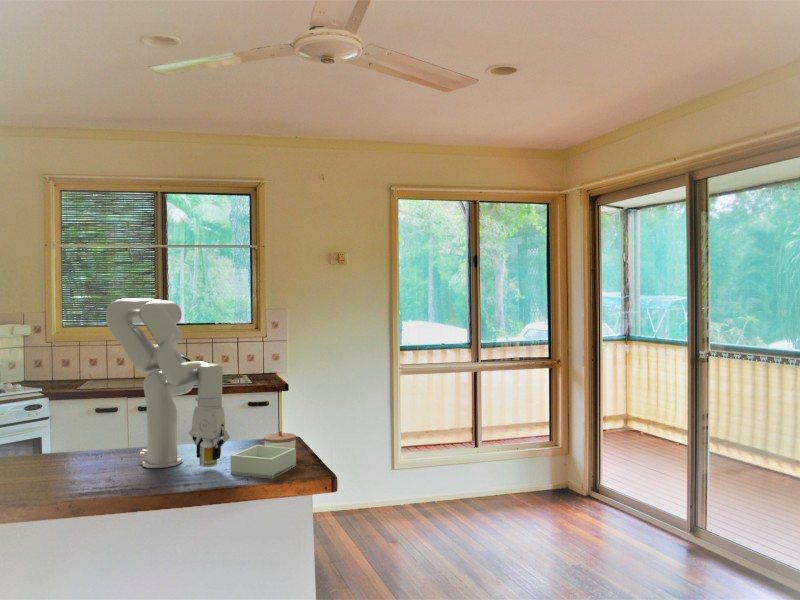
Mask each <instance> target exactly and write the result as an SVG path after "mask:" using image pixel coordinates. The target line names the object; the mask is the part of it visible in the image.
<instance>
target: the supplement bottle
mask: <svg viewBox="0 0 800 600" xmlns="http://www.w3.org/2000/svg"><path fill="white" fill-rule="evenodd" d="M202 439H203V442H201V443H200V458H199V467H202V468H212V467H215V466H217V464H218V459H217V460H213V448H214V447H215V446H214V442H213V439H205V438H202Z"/></svg>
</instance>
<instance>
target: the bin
mask: <svg viewBox="0 0 800 600" xmlns="http://www.w3.org/2000/svg"><path fill="white" fill-rule="evenodd" d="M295 466H296V467H297V448H296V447H295V448H287V447H275V446H265V444H264V445H261V444H255V445H253V446H250V447H248V448H246V449H244V450H241V451H239V452H236V453H233V454H231V455H230V475H231V474H235V475H234V476H241V475H244V476H243V477H250V476H252V478H262V479H270V480H271V479H272V480H273V479H275V478H276V477H279V476H281V475H282V474H284V473H286V472H288V471H290V470H292V469H294V468H296V467H295ZM293 467H294V468H293ZM291 468H292V469H291Z"/></svg>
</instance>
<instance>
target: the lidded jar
mask: <svg viewBox="0 0 800 600" xmlns="http://www.w3.org/2000/svg"><path fill="white" fill-rule="evenodd" d="M296 437H297V436H296V434H294V433H289V432H283V431H282V430H279V431H278V433H277V432H275V433H270V434H267V435H265V436H264V438H263V439H264V446H275V447H287V448H296V439H297V438H296Z"/></svg>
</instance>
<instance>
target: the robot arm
mask: <svg viewBox="0 0 800 600" xmlns="http://www.w3.org/2000/svg"><path fill="white" fill-rule="evenodd" d="M182 314H183V313H182V310H181V307H180V306H179V305H178V304H177V303H176V302H174V301H171V300H162V299H157V298H156V299H155V298H145V297H144V298H140V297H139V298H131V297H130V298H120V299H115V300H114V301H112V302H110V303H109V304H108V306H107V308H106V311H105V320H106V325H107V328H108V330H109V331H110V333H111V334H112V336H113V337H114V338H115V339H116V340H117V342H118V343H119V345H121V347H122V349H123V350H124V352H125V354H126V355H127V357H128V359H129V360H130V362H131V363H132V365H133V366H134V368H135V369H136V370H137V372H139V373H142V374H147V375H146V377H145V378H144V380H143V385H142V386H143V387H142V388H143V392H144V397H145V402H146V403H145V405H146V449H145V448H143V449H141V451H140V452H139V454H138V456H139V457H144V460H143V461H142V464H141V465H142V467H144V468H147V469H164V468H171V467H175V466H178V465H180V464H182V463H183V457H181V456H178V409H177V406H176V404H175V402H174V400H173V397H176V396H177V397H178V396H181V395H185V394H188V393H190V392H191V391H192V389H193V388H194V386H195V385H197V397H195V402H197V405H195V407H194V410H193V415H192V416H193V417H192V423H191V429H190V430H189V431H188V434H189V436H190V437H191V438H192V441H193V442H194V445H195V446H196V458H197V459H200V443H201V442H203V439H202V438H205V439H213V442H214V446H215V447H214V448H213V460H217V461H218V459H221V454H222V446H223V445H224V444H226V441H228V440H229V439H230V438H231V437H230V434H228V431H227V430H226V416H225V409H224V406H223V378H224V377H223V374H224V373H223V372H224V371H223V366H222V365H221V364H219V363H208V362H205V361H202V360H196V361H195V360H194V361H185V360H184V359H183V357H182V356H181V354H180V353H179V350H177V348H175V347H176V346H177V345H178V344H179V343H180V341H181V340H182V339H183V332H182V331H181V329H180V328H179V326H178V325H177V324H178V323H179V322H180V321H181V320H182V317H183V316H182ZM134 323H142V324H143V325H144V326H145V328H146V329H147V331H148V332H149V334H150V335H151V337H152V338H153V340H154V341H155V343H156V344H155V343H152V341H150V339H149V338H148V336H147V334H146V333H145V332H144V331H143V330H142V329H141V328H140V327H138V326H136V325H135V324H134Z"/></svg>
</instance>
